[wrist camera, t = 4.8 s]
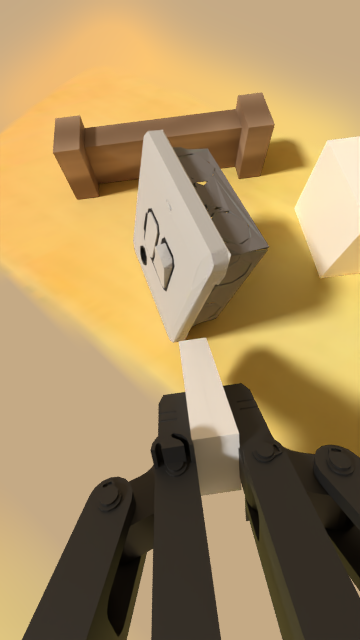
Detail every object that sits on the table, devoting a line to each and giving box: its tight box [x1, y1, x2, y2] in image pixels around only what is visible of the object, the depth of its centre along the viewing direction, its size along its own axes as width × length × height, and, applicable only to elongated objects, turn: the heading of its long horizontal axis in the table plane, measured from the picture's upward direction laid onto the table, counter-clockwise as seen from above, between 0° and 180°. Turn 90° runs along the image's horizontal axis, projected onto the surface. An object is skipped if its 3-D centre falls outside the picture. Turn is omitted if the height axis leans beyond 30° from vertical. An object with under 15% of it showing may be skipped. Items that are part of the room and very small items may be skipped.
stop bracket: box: [53, 93, 274, 199], centre depth 23 cm, size 4×17×4 cm, turn 97°
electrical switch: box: [133, 130, 269, 342], centre depth 17 cm, size 9×5×9 cm, turn 21°
